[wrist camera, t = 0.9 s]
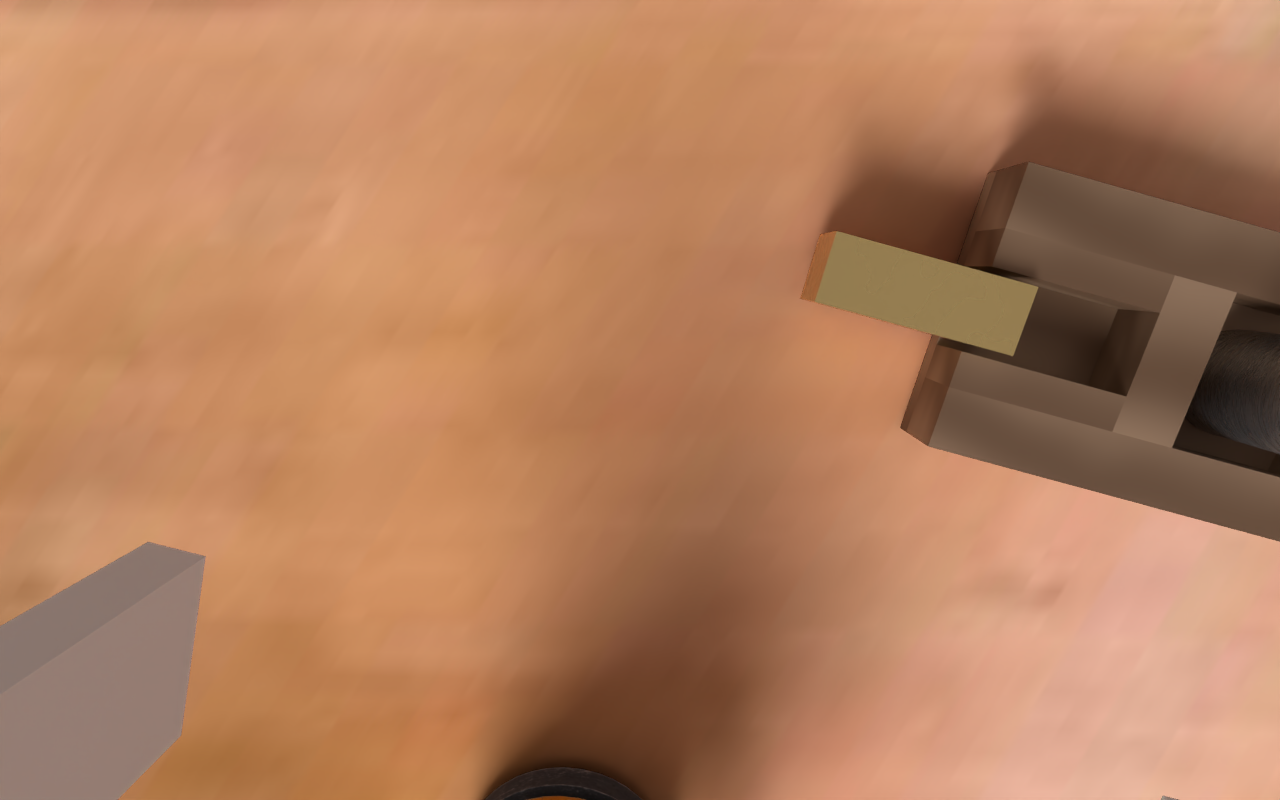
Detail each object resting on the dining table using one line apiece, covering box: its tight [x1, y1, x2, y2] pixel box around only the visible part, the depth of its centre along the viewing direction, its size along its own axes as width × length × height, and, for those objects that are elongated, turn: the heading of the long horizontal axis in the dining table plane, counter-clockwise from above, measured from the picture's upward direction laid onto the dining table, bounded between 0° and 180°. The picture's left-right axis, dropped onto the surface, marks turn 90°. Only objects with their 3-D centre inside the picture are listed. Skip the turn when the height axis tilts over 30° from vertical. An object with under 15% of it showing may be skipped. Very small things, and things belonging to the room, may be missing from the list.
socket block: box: [900, 162, 1280, 541], centre depth 26 cm, size 10×16×3 cm, turn 75°
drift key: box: [800, 231, 1038, 356], centre depth 25 cm, size 2×7×2 cm, turn 75°
